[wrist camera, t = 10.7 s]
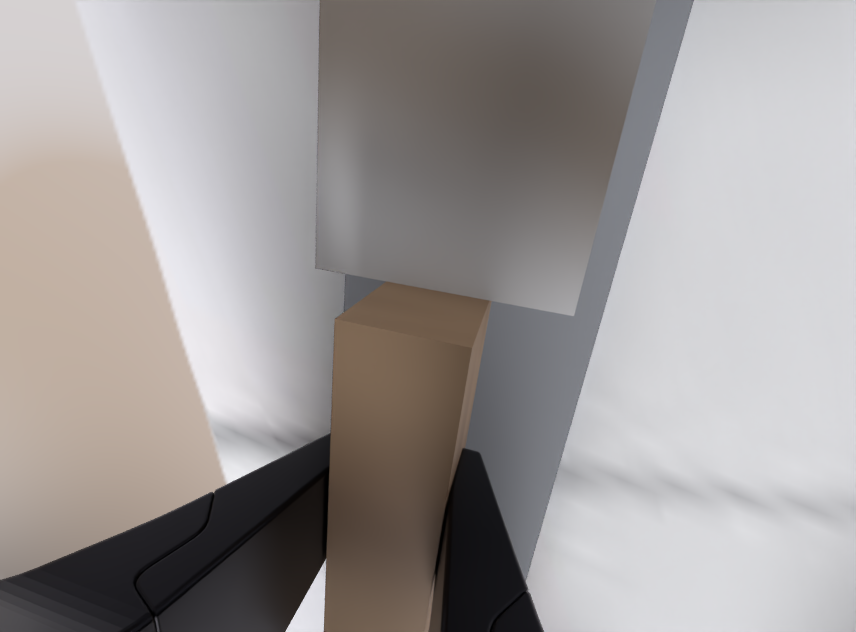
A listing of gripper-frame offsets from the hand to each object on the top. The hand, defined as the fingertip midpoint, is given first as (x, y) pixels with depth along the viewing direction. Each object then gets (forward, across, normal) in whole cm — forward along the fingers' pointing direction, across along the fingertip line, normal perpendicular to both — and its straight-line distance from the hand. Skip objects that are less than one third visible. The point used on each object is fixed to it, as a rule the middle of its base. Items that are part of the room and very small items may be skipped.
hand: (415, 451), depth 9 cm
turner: (+1, 0, -2) cm, 2 cm away
